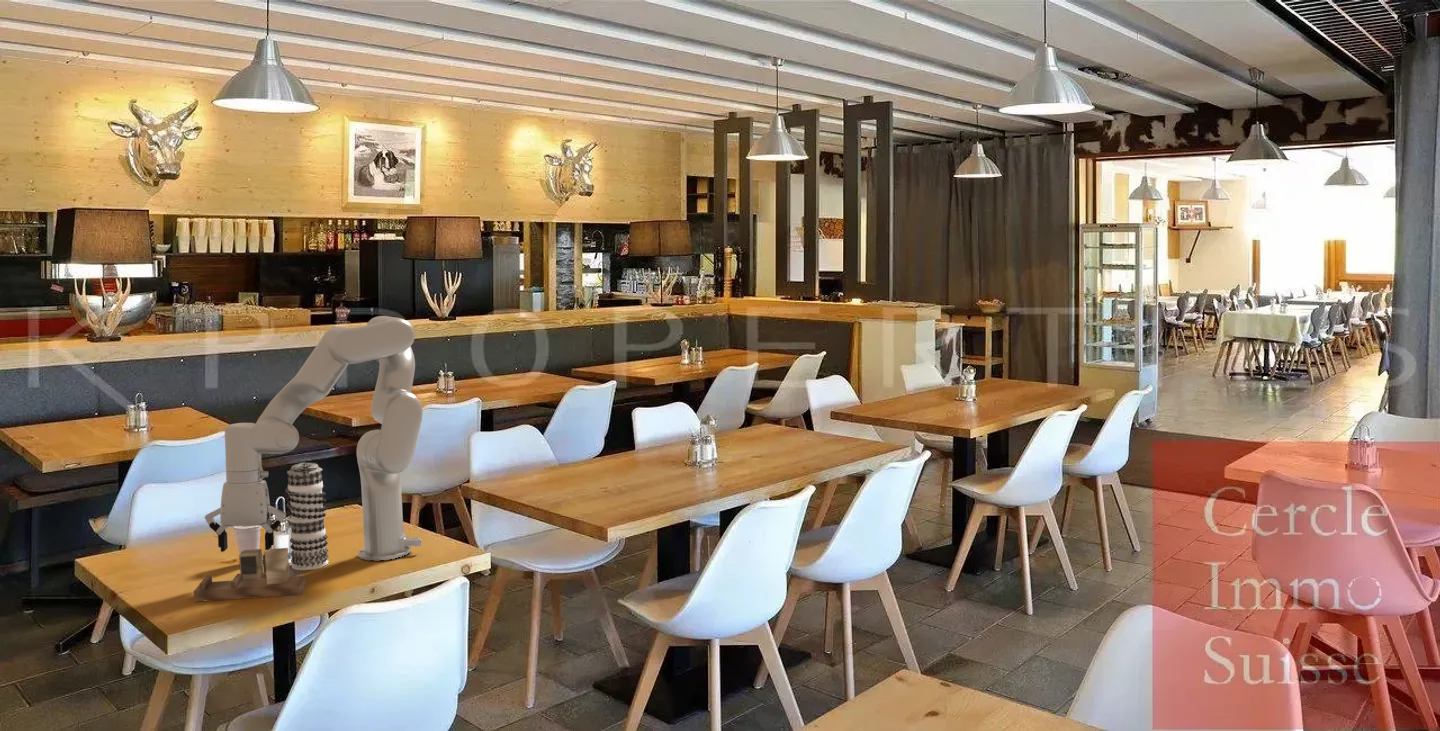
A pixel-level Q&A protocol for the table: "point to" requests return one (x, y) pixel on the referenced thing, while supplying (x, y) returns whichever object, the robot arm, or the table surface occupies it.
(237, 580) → the brown notched block
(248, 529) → the smoothie
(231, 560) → the table surface
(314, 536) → the decorative candle
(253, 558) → the beige boxy piece
